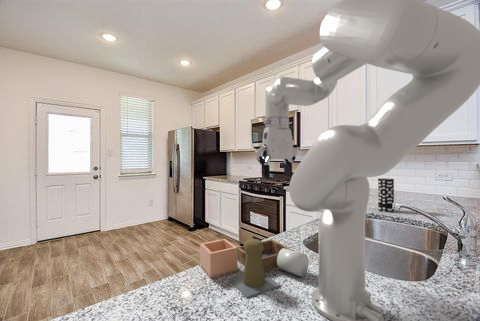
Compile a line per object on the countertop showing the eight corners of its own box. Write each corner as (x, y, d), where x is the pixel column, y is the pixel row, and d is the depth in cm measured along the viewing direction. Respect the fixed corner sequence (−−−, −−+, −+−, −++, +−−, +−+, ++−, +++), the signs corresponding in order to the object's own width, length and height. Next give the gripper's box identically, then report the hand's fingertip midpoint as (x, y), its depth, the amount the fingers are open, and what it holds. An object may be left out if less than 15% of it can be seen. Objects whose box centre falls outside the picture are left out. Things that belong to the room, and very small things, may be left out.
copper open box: (237, 271, 67) (237, 247, 67) (210, 278, 63) (210, 253, 63) (225, 260, 74) (225, 238, 74) (200, 266, 70) (200, 243, 70)
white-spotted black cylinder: (381, 208, 146) (380, 178, 146) (396, 210, 140) (395, 178, 140) (376, 210, 141) (376, 179, 141) (391, 213, 135) (391, 179, 135)
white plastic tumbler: (308, 272, 66) (308, 251, 66) (299, 280, 61) (298, 258, 61) (287, 264, 70) (287, 245, 70) (277, 272, 66) (276, 251, 66)
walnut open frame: (294, 263, 71) (293, 250, 71) (255, 274, 64) (255, 260, 64) (271, 250, 82) (271, 239, 82) (236, 259, 75) (236, 247, 75)
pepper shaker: (238, 284, 59) (238, 242, 59) (248, 273, 64) (248, 235, 64) (260, 290, 56) (259, 246, 56) (268, 278, 62) (268, 238, 62)
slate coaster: (279, 286, 58) (279, 285, 58) (246, 298, 53) (246, 296, 53) (258, 270, 67) (258, 268, 67) (228, 279, 62) (228, 277, 62)
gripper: (263, 121, 66) (263, 179, 66) (304, 125, 75) (304, 176, 75) (248, 124, 72) (249, 177, 73) (288, 127, 81) (288, 174, 82)
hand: (277, 176), depth 74 cm, fingers open, 9 cm apart
